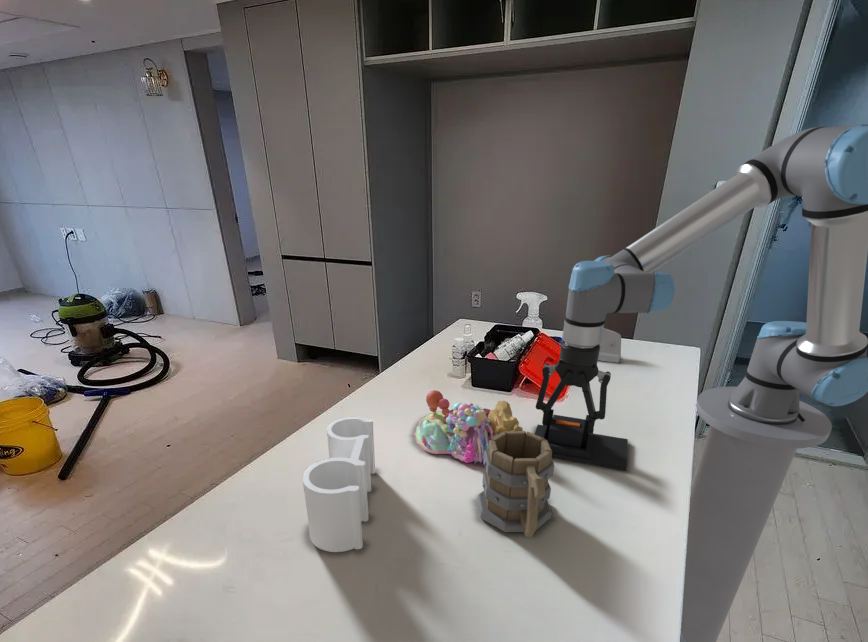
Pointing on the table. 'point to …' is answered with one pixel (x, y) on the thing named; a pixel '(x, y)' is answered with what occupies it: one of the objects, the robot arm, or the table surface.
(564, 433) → the black orange striped block
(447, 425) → the candy landscape model
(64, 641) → the table surface
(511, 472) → the tankard
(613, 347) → the grey upright panel
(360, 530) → the bracket
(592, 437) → the base pad
